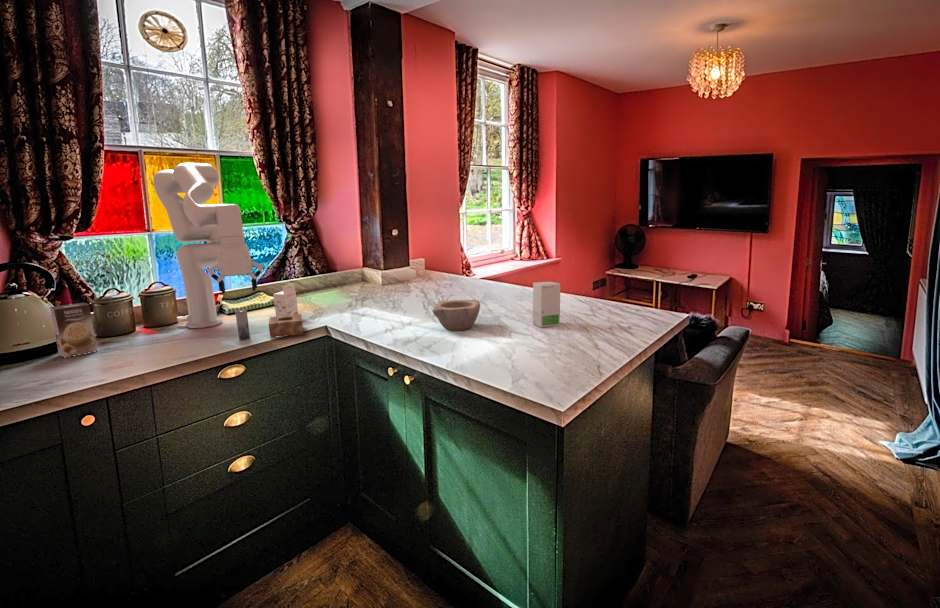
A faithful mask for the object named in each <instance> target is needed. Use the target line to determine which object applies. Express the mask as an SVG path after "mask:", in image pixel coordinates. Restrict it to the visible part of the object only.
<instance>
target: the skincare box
mask: <svg viewBox="0 0 940 608" xmlns="http://www.w3.org/2000/svg"><path fill="white" fill-rule="evenodd" d="M560 316H561V283H560V282H555V281H554V282H553V281H542V282H541V281H540V282H539V281H538V282H533V283H532V324H533V325H534V326H536V327H538V328H542V329H543V328H549V327H556V326H557V327H559V326H561V325H560V324H561V323H560V322H561V321H560V319H561V317H560Z"/></svg>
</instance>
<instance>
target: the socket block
mask: <svg viewBox="0 0 940 608" xmlns="http://www.w3.org/2000/svg"><path fill="white" fill-rule="evenodd" d="M268 330H269V338H270V337H273V338H277V337H276V336H282V337H286V336H285V335H291V336H298V335H304V328H303V317H302V314H301V313H298V314H297V315H286V316H276V315H275V316H270V317H269V320H268Z"/></svg>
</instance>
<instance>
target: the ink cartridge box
mask: <svg viewBox="0 0 940 608" xmlns="http://www.w3.org/2000/svg"><path fill="white" fill-rule="evenodd" d="M295 286H296V285H295V283H294V282H291V283H288V284H285V285H283V286H282V290H281V291H278V292H276V293H273V294H272V295H273V303H274V310H275V317H276V316H286V315H297V314H299V310H298V300H297V292H296V287H295Z"/></svg>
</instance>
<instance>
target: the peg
mask: <svg viewBox="0 0 940 608" xmlns="http://www.w3.org/2000/svg"><path fill="white" fill-rule="evenodd" d="M235 318H236V319H235V320H236V327H237V335H238V340H239V341H247V339H248V340H250V339H251V334H250V327H249V317H248V311H247V309H239V310H236V311H235Z"/></svg>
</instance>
